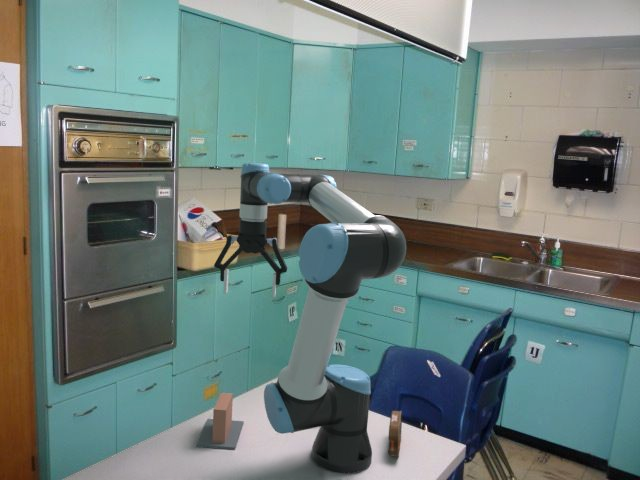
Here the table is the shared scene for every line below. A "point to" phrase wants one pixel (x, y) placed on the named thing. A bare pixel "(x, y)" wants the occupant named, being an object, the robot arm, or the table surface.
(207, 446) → the mat
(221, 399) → the block
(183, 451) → the table surface
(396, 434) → the tin
